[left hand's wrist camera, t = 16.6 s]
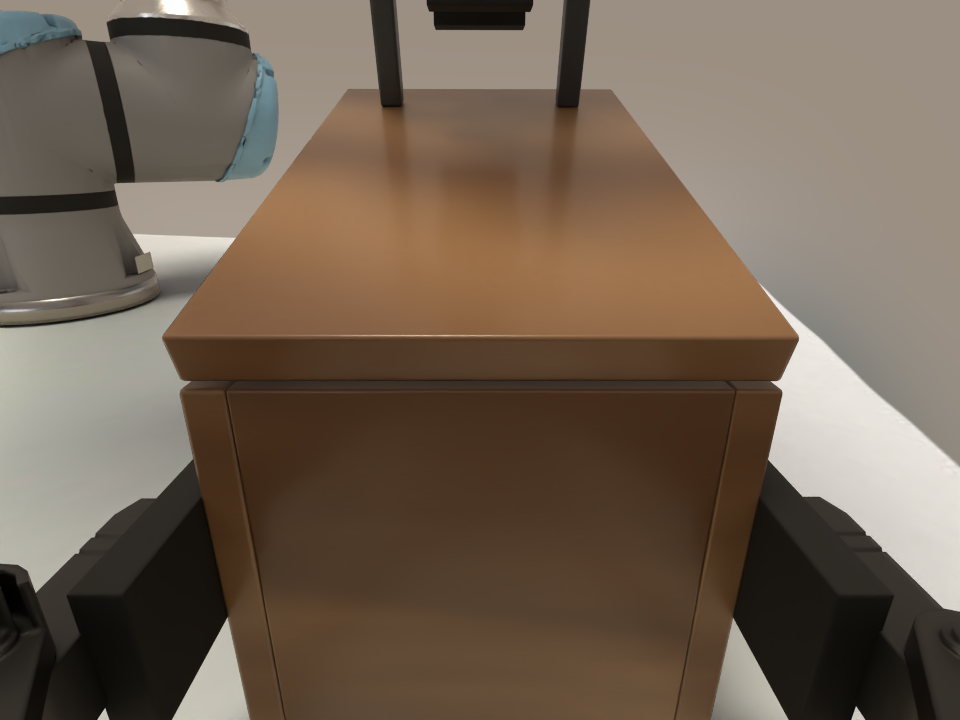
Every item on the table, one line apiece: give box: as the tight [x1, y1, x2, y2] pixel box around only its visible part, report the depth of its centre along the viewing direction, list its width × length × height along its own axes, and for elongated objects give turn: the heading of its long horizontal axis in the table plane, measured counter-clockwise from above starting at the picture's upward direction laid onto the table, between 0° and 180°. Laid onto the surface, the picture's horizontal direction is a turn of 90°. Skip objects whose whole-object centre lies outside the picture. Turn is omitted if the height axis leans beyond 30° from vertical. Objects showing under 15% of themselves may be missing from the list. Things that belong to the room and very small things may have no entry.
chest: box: [180, 381, 782, 720], centre depth 17 cm, size 15×10×10 cm, turn 0°
